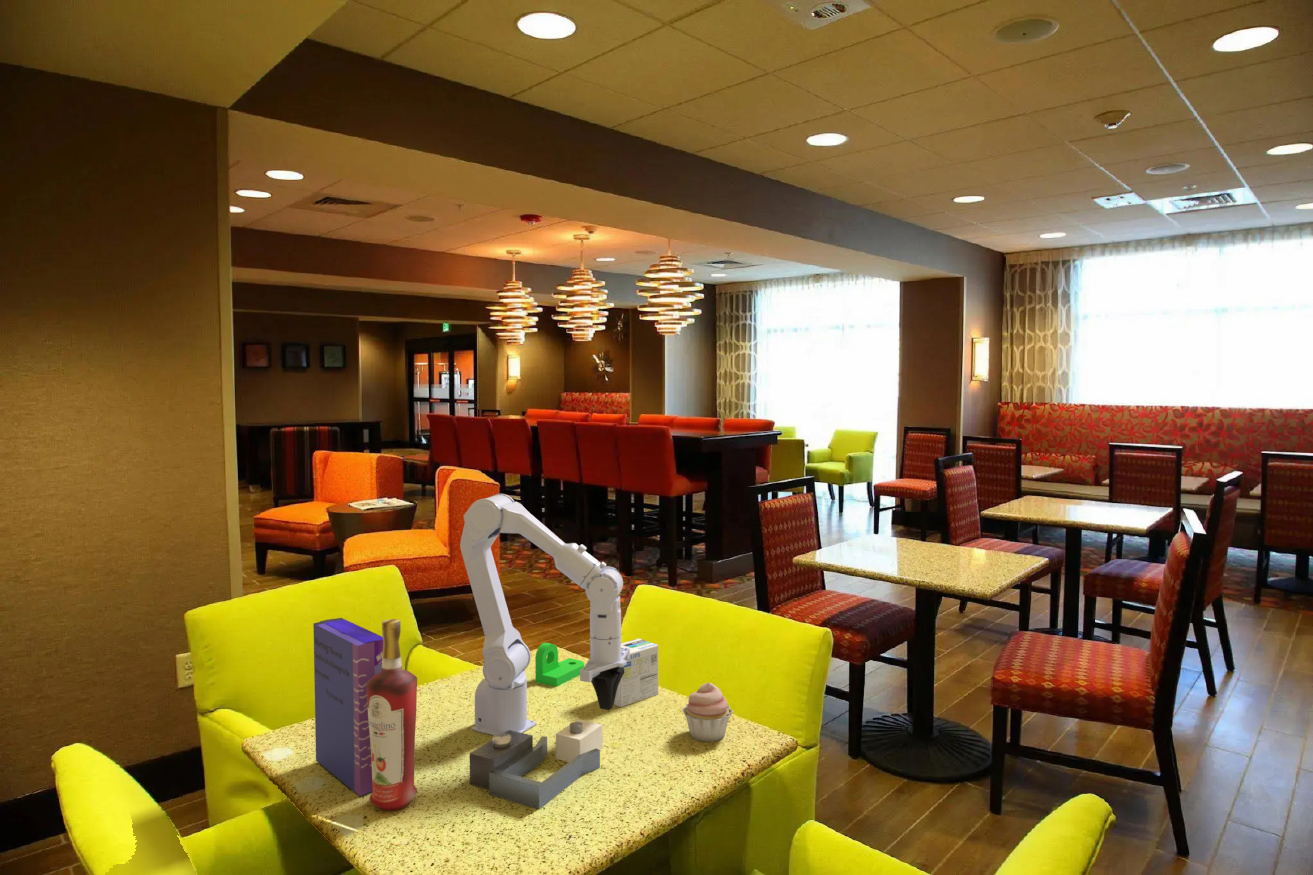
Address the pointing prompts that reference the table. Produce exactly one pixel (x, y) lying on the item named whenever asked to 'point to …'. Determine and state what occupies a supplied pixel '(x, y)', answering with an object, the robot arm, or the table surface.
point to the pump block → (578, 739)
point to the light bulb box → (638, 673)
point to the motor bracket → (524, 769)
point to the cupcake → (707, 713)
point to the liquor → (392, 725)
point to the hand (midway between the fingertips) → (606, 708)
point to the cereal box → (344, 699)
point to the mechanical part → (555, 666)
